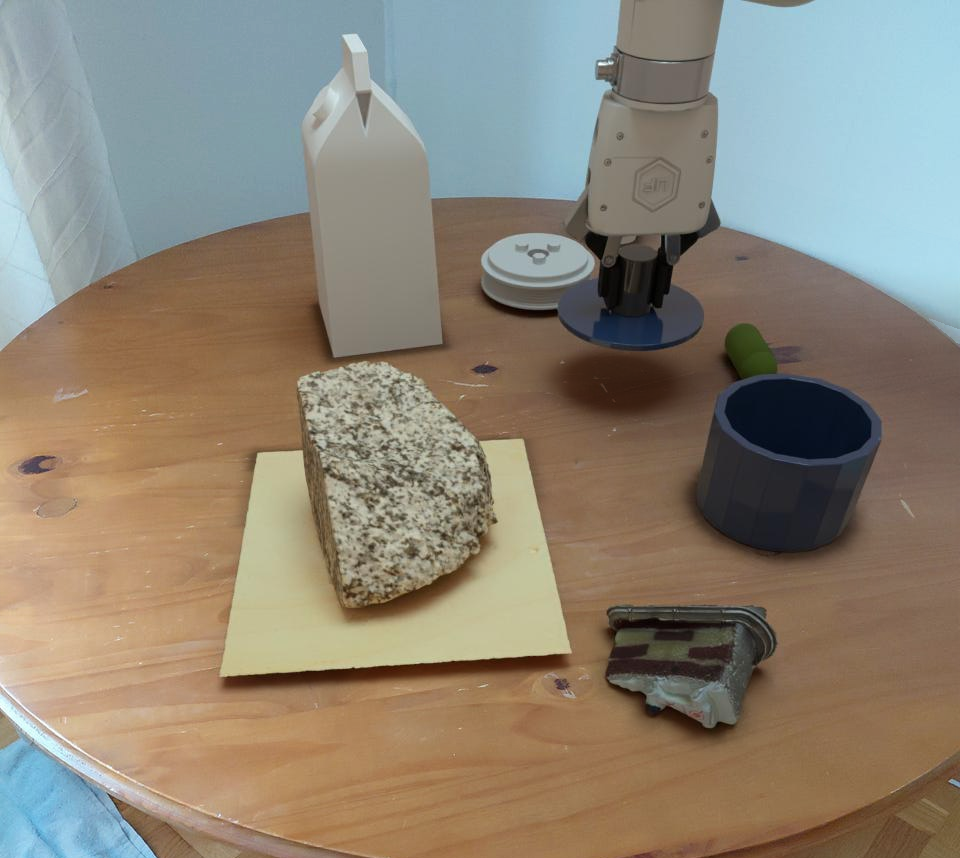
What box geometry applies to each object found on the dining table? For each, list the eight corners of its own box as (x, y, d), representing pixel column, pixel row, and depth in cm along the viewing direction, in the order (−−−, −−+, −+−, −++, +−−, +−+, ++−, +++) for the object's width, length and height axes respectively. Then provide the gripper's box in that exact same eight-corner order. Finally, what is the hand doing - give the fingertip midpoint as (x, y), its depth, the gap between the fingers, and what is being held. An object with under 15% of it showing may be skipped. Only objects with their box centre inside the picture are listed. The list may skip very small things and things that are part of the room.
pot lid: (682, 284, 89) (694, 218, 84) (719, 354, 79) (734, 284, 75) (547, 289, 88) (551, 223, 83) (568, 360, 79) (574, 290, 74)
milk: (442, 343, 93) (433, 57, 74) (333, 357, 92) (295, 67, 72) (420, 292, 101) (406, 21, 82) (319, 303, 99) (281, 29, 80)
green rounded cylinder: (717, 349, 93) (724, 317, 90) (751, 348, 93) (759, 315, 90) (741, 395, 87) (749, 362, 84) (777, 393, 87) (786, 360, 84)
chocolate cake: (565, 692, 62) (698, 672, 52) (596, 607, 64) (727, 574, 55) (656, 754, 66) (794, 747, 56) (681, 672, 69) (817, 652, 59)
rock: (250, 450, 80) (322, 290, 71) (459, 534, 89) (547, 402, 79) (209, 674, 60) (302, 493, 51) (484, 755, 69) (607, 613, 59)
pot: (818, 455, 80) (846, 370, 74) (871, 547, 71) (909, 460, 65) (680, 462, 79) (697, 377, 73) (718, 556, 71) (741, 468, 64)
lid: (518, 328, 96) (519, 283, 92) (461, 282, 103) (460, 238, 99) (613, 300, 100) (618, 256, 96) (552, 258, 107) (554, 215, 104)
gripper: (562, 93, 66) (548, 325, 79) (781, 88, 67) (730, 318, 80) (549, 64, 71) (537, 287, 84) (752, 59, 72) (708, 281, 85)
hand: (631, 300), depth 82 cm, fingers closed on pot lid, 3 cm apart
